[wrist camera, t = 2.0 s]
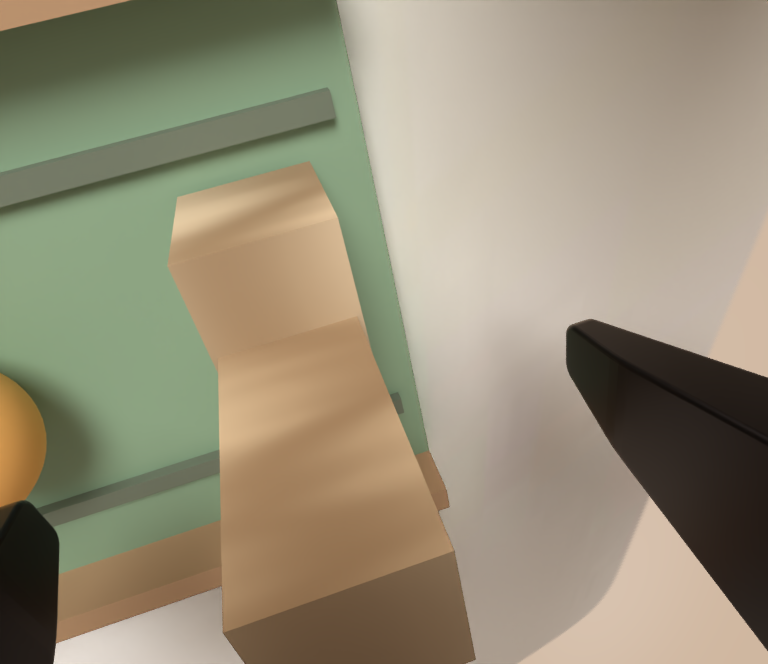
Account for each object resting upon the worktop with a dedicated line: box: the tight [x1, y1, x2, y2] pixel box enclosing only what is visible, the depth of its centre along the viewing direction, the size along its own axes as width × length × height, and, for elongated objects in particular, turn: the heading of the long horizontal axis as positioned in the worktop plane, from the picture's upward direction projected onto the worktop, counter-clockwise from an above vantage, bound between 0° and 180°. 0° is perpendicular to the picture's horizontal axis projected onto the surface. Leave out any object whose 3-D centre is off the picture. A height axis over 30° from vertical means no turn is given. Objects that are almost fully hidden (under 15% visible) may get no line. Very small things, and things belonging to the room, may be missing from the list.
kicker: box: [167, 161, 476, 664], centre depth 9 cm, size 3×6×8 cm, turn 11°
